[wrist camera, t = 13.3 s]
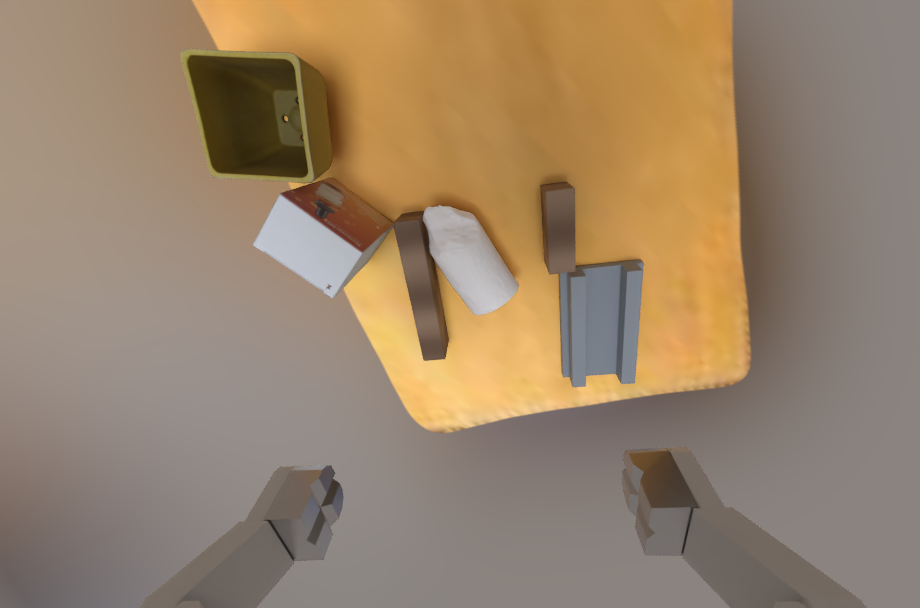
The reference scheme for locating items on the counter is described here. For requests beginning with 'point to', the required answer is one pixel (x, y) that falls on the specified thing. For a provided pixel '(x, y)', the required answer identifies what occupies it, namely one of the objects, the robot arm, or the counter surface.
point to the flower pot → (259, 114)
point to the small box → (323, 234)
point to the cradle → (600, 320)
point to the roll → (468, 259)
